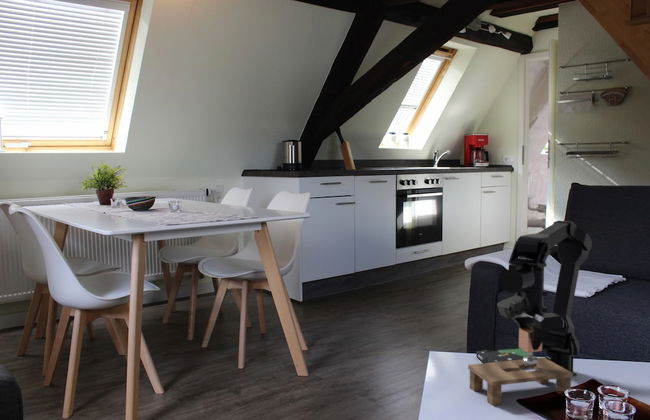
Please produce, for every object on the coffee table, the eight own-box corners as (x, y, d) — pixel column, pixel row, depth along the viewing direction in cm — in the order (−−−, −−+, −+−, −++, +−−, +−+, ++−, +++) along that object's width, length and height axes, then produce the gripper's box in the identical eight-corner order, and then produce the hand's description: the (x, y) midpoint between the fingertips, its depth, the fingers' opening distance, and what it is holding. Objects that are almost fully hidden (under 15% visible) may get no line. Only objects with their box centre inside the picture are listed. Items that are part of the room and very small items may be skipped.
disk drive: (491, 372, 164) (540, 368, 166) (491, 362, 163) (540, 358, 166) (475, 360, 174) (521, 356, 176) (475, 350, 174) (521, 346, 176)
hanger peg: (532, 361, 151) (533, 326, 150) (541, 366, 147) (542, 331, 146) (518, 362, 150) (519, 328, 149) (527, 367, 146) (528, 332, 145)
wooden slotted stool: (543, 379, 156) (543, 357, 156) (572, 396, 145) (572, 373, 144) (468, 387, 151) (468, 364, 151) (491, 406, 140) (492, 381, 139)
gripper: (483, 280, 154) (483, 338, 155) (523, 296, 136) (522, 362, 137) (521, 278, 156) (520, 335, 158) (565, 293, 138) (564, 358, 140)
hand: (530, 347), depth 148 cm, fingers closed on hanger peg, 4 cm apart
